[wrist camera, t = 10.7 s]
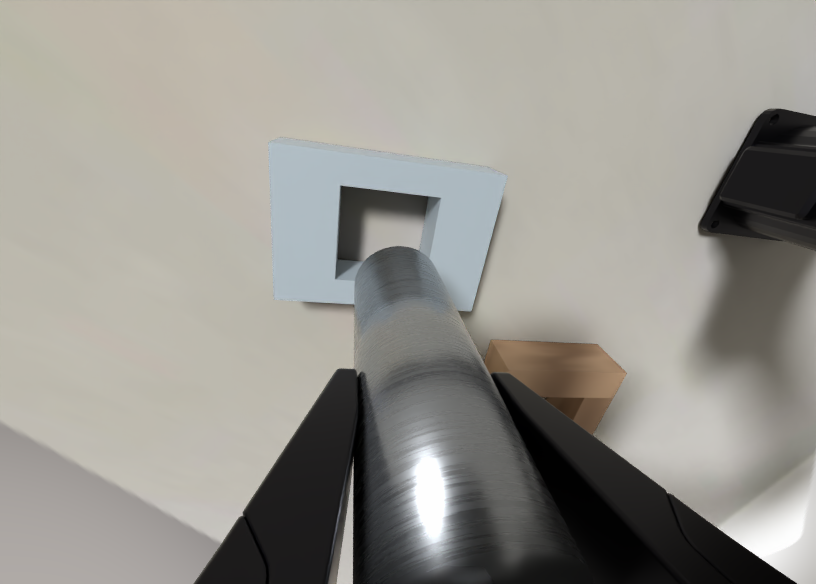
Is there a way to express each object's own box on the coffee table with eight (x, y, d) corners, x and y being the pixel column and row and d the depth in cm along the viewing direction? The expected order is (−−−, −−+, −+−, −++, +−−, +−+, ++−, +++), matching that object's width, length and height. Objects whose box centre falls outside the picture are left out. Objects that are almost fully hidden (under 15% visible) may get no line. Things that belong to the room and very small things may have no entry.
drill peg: (446, 250, 12) (635, 542, 4) (431, 324, 13) (546, 652, 5) (357, 242, 11) (363, 564, 3) (351, 320, 12) (344, 681, 5)
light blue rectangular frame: (488, 167, 17) (507, 175, 15) (459, 289, 20) (471, 311, 18) (280, 137, 15) (268, 141, 13) (283, 277, 19) (273, 299, 16)
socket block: (597, 344, 24) (626, 373, 21) (558, 424, 28) (579, 457, 25) (491, 339, 23) (508, 370, 20) (464, 425, 26) (476, 460, 24)
